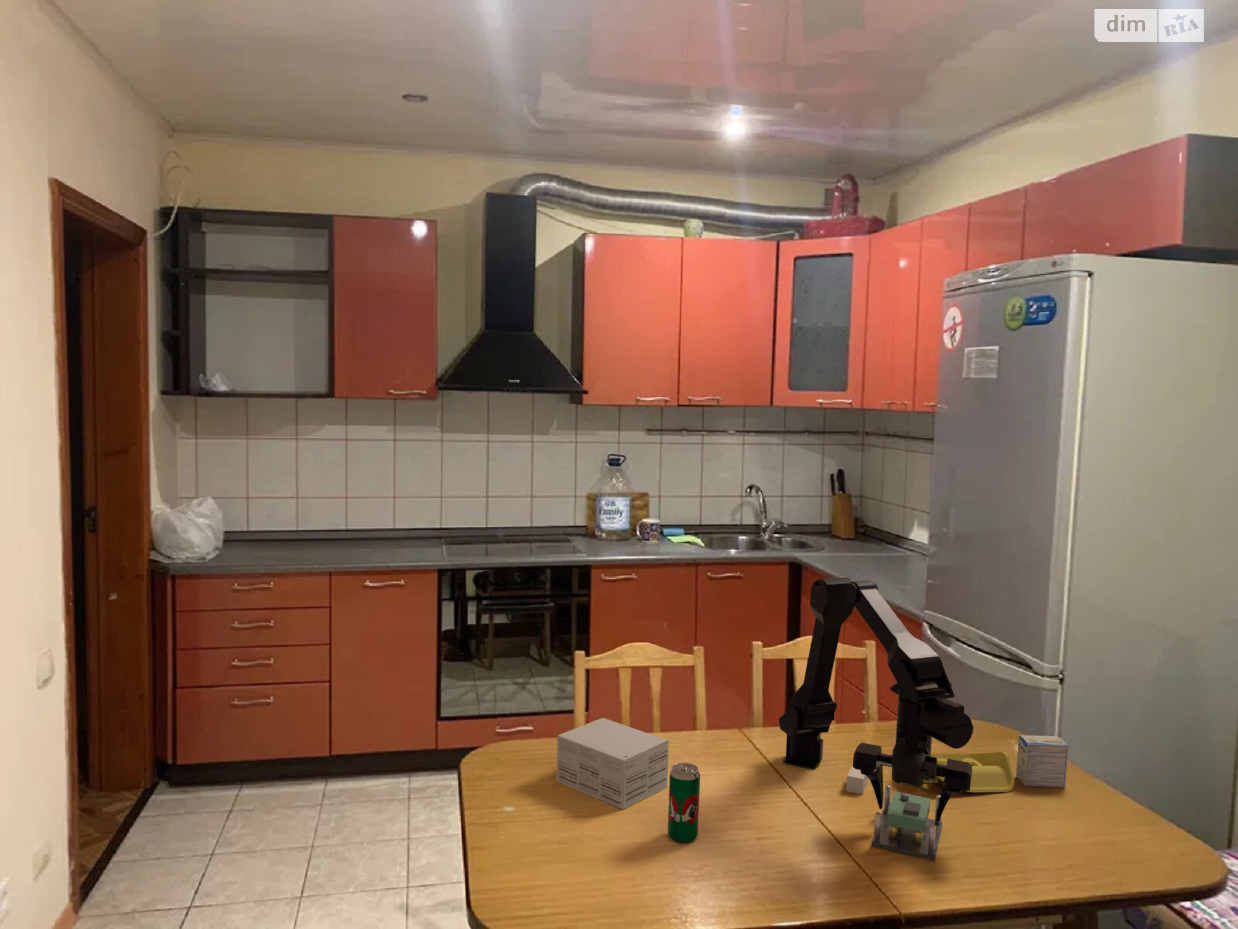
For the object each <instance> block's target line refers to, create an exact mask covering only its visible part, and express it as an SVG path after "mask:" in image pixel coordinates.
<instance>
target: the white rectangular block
mask: <svg viewBox="0 0 1238 929" xmlns="http://www.w3.org/2000/svg"><path fill="white" fill-rule="evenodd" d="M860 771H861V770H858V769H855V768H853V764H852V765H851V766H850V769H849V771H848V773H847V776H846V790H845V791H846V792H848V793H849V792H850V793H853V794H859V795H864V792H865V790H866V788H867V785H868V779H869V778H868V777H867V776H866V775H863V774H861V772H860Z"/></svg>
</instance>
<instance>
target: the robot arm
mask: <svg viewBox="0 0 1238 929" xmlns="http://www.w3.org/2000/svg"><path fill="white" fill-rule="evenodd" d="M877 585H878V584H876V583H875V582H874V581H872V580H857V581H853V580H852V579H851V578H850V577H848V576H845V577H844V576H843V577H832V578H818V579H816V580H815V581H813V582H812V584H811V586H810V587H811V589H810V597H809V598H810V600H809V607H810V609H811V611H812V613H813V615H814V618H815V621H814V626H813V630H812V637H811V641H810V647H809V651H808V657H807V663H806V667H805V668H806V669H805V673H804V678H803V683H802V684H801V686H800V687H799V688H798V689H797V690H796V691H795V693H793V695H792V698H791V700H790V703H789V705H788V706H789V707H788V709H787V710H785V712H784V713H783V714H782V715H781V716H780V717H779V718H778V722H779V723H778V724H779V729H780V730H781V731H782V732H784V733H785V734H786V741H785V742H786V745H785V746H786V747H785V757H784V758H783V761H782V762H783V763H784V764H788V765H792V766H797V767H801V768H808V769H812V770H816V769H817V766H818V765H819V764H820V763H821V762H822V760H823V756H824V755H823V753H824V739H823V738H821V736H822V733H825V734H826V733H827V734H828V733H829V730H830V727H831V724H832V723H833V721H835V718H836V717H835V716H836V710H837V707H838V706H837V702H836V701H834V700H833V697H832V696H831V693H830V685H831V680H832V674H833V670H834V666H835V665H834V663H835V660H836V654H837V651H838V650H837V649H838V644H839V640H840V634H841V629H842V625H843V624H844V623H845V622H846V621H847V620H848V619H849V617H850V616H851V615H852V614H853V612H854V609H855V608H856V610H857V611H858V612H859V614H860V615H861V617H862V619H863V620H864V621H865V623H866V624H867V626H868V627H869V628H870V630H871V631H872V632H873V634H874V635H875V637H876V638H877V640H878V641H879V642H880V643H881V645H882V646H883V648H884V650H885V651H886V653H887V666H888V668H889V669H890V672H891V673H892V675H893V677H894V680H895V681H896V683H895V684H893V685H892V686H890V687H889V690H890V692H893V693H895V694H896V695H898V696H897V697H898V698H897V713H896V714H897V715H896V728H895V729H896V730H895V731H896V733H895V744H894V747H893V748H892V753H891V754H887V753H882V745H877V744H871V743H866V742H860V743H859V744H858V745H857V747H856V748H855V750H854V753H853V757H852V765H853V768H855V769H858V770H861V771H860V772H861V774H863V775H866V776H867V777H868V779H869V781H870V783H871V786H872V789H873V792H874V794H875V799H876V802H877V805H878V808H879V810H883V809H884V799H885V795H884V767H889V768H891V780H892V781H893V782H894V783H896V784H904V785H905V784H906V785H911V786H912V787H915V788H918V787H919V788H920V787H921V786H923V784H924V783H923V780H928V781H929V779H932V780H935V778H936V776H939V777H944V782H943V781H942V782H943V784H942V786H941V790H940V791H941V792H940V794H939V795H940V800H939V804H938V809H937V814H936V821H938V822H939V820H940V817H941V818H942V815H943V813H944V810H945V808H946V806H947V804H948V802H949V801H950V799H951V797H952V796H954V794H961V793H962V790H963V792H966V791H969V790H970V786H971V779H972V766H971V765H970V763H969V762H963V761H958V760H952V759H948V760H947V765H940V764H937V758H936V757H931V754H932V743H933V742H932V741H933V739H935V740H937V741H939V742H941V743H942V744H944V745H946V746H948V747H949V748H952V749H957V750H958V749H962V748H963V747H965V746H966V745H967V744H968V743H969V742H970V741H971V738H972V736H973V734H974V725H973V722H972V719H971V717H970V716H969V714H966V713H965V706H964V705H963V704H962V703H958V702H955V701H953V700H950V699H953V698H955V693H954V691H953V685H952V683H951V681H950V680H949V678H948V675H947V672H946V670H945V667H944V665H943V661H942V659H941V658H940V656H939V654H938V653H936V652H935V650H933V648H931V646H929V644H928V643H926V642H924V641H922V640H920V639H919V638H917V637H915V636H913V634H911V633H910V632H909V630H908V629H907V628H906V627H905V625H904V624H903V623H902V621H901V620H900V618H899V617H898V616H897V614H896V613H895V612H894V610H893V609H892V608H891V607H890V605H889V603H888V602H887V601H886V599H885V598H883V596H882V595H881V593H880V591H879V586H877ZM935 685H936V687H931V688H923V689H922V688H921V687H928V686H929V687H930V686H935ZM883 766H884V767H883Z"/></svg>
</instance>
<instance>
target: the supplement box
mask: <svg viewBox="0 0 1238 929" xmlns="http://www.w3.org/2000/svg"><path fill="white" fill-rule="evenodd" d="M669 742H670V741H669V739H666V738H662V737H659V736H657V735H654V734H650V733H648V732H646V731H643V730H639V729H636V728H633V727H630V726H628V725H624V724H622V723H619V722H617V721H613V720H611V719H608V718H605V717H602V718H599V719H597V720H593V721H591V722H588V723H587V724H584V725H582V726H579V727H576V728H572V729H570V730H568V731H565V732H563V733H560V734H558V735H557V744H556V745H557V747H556V748H557V751H556V754H557V755H556V756H557V757H556V758H557V759H556V782H558V783H560V784H562V785H565V786H567V787H570V788H571V789H574V790H575V791H576V790H577V791H579V792H581V793H583V794H585V795H588V796H590V797H593V798H595V799H597V800H600V801H602V802H605V803H607V804H609V805H612V806H614V807H615V808H619V809H621V810H625V809H627V808H629V807H631V806H633V805H635V804H637V803H639V802H640V801H642V800H645V799H647V798H649V797H651V796H652V795H655V794H657V793H658V792H661V791H663V790H666V788H667V789H668V787H669V784H668V780H669V779H668V778H669V773H668V772H669Z"/></svg>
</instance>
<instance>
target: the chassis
mask: <svg viewBox="0 0 1238 929" xmlns="http://www.w3.org/2000/svg"><path fill="white" fill-rule="evenodd" d="M884 786H885V787H884V798H883V808H882V812H879V811H876V812H874V826H873V827H874V829H873V837H872V839H871V847H872V848H876V849H881V850H886V851H889V852H894V853H899V854H903V855H907V856H912V857H915V858H921V859H924V860H927V861H928V860H929V861H932V862H933V861H934V862H936V859H937V854H938V847H939V844H940V839H941V834H942V828H943V821H942V816H941V817H940V820H939V822H938V821H936V814H937V809H938V804H939V800H940V795H941V794H937V795H936V798H935V812H934V813H935V814H934V819H932V818H929V817H928V820H927V824H926V829H925V833H922V832H918V831H913V830H909V829H904V828H899V827H895V826H890V825H887V813H888V810H889V807H890V803H891V798H892V797H891V794H892V785H890V784H885V785H884Z"/></svg>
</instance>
